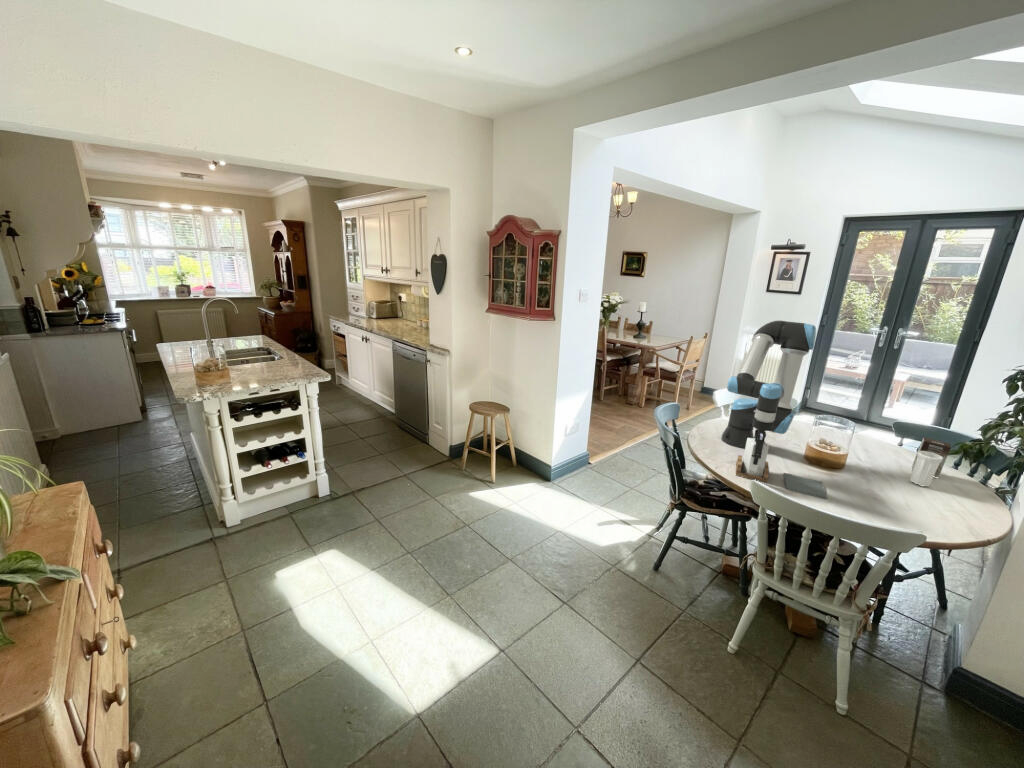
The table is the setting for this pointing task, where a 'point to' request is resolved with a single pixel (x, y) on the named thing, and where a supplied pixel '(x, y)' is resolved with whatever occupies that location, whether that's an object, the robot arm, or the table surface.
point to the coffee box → (935, 451)
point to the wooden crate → (738, 469)
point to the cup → (925, 467)
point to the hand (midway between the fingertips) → (752, 464)
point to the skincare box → (748, 458)
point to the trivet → (804, 485)
